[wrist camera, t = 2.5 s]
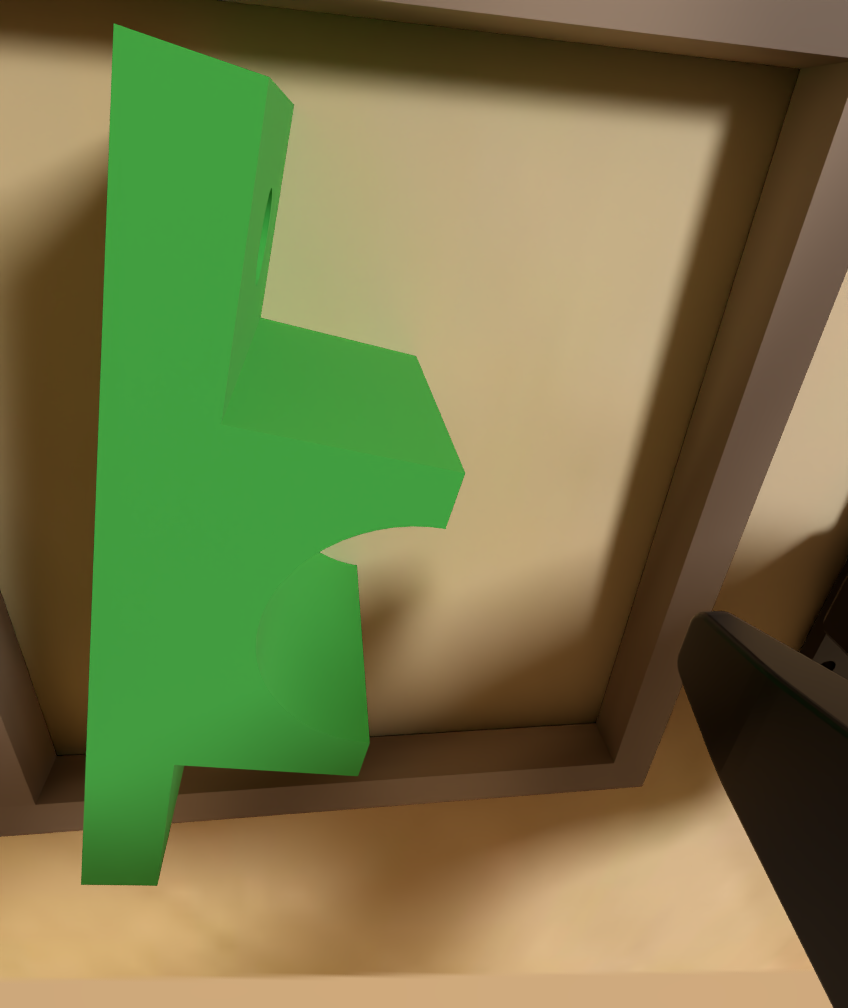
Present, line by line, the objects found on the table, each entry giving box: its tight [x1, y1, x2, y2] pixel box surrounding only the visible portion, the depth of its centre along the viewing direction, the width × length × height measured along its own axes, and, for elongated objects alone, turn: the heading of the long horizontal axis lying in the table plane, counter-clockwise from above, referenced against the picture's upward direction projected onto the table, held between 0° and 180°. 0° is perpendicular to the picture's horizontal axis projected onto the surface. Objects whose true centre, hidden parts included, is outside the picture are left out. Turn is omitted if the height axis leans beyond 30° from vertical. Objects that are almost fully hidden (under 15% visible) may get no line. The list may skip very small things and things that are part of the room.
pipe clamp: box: [81, 24, 465, 886], centre depth 9 cm, size 11×4×5 cm, turn 164°
